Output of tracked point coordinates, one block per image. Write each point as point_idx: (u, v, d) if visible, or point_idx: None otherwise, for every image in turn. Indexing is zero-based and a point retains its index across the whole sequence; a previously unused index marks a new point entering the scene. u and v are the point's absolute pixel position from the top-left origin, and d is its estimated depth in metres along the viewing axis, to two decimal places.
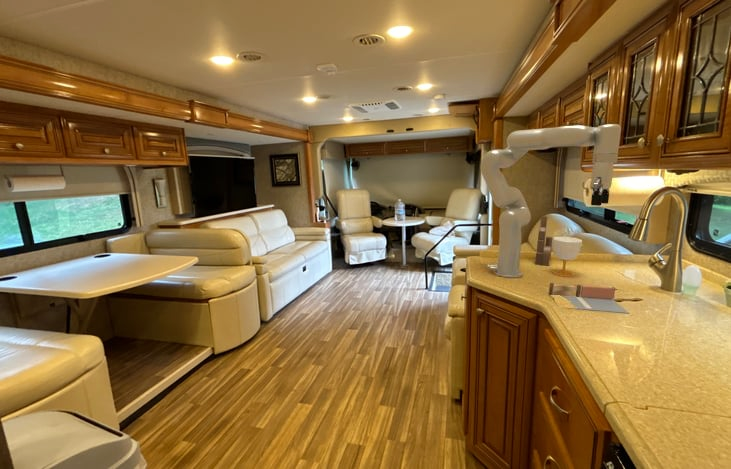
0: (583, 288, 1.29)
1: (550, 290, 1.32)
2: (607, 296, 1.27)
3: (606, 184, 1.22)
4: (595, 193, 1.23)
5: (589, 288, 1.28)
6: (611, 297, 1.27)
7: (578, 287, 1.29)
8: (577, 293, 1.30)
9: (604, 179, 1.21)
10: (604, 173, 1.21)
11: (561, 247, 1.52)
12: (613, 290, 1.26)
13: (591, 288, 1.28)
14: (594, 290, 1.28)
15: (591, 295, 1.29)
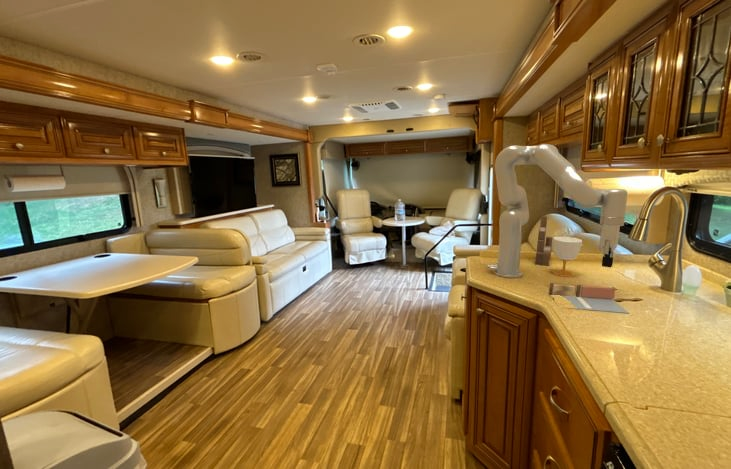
0: (583, 288, 1.29)
1: (550, 290, 1.32)
2: (607, 296, 1.27)
3: (614, 246, 1.26)
4: (606, 256, 1.30)
5: (589, 288, 1.28)
6: (611, 297, 1.27)
7: (578, 287, 1.29)
8: (577, 293, 1.30)
9: (613, 242, 1.25)
10: (613, 236, 1.25)
11: (561, 247, 1.52)
12: (613, 290, 1.26)
13: (591, 288, 1.28)
14: (594, 290, 1.28)
15: (591, 295, 1.29)
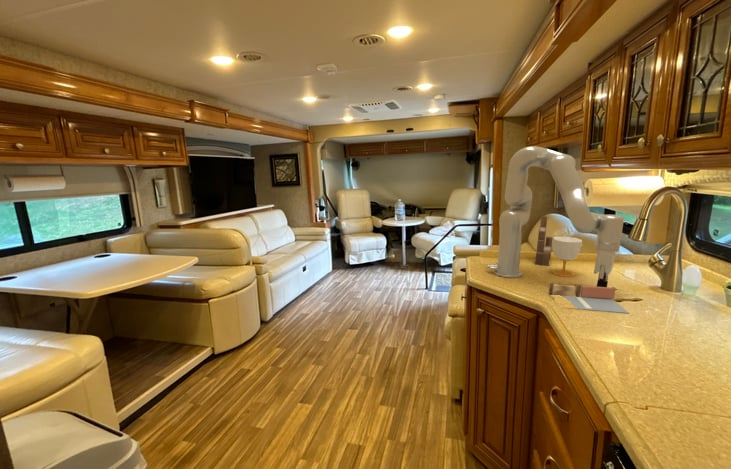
0: (583, 288, 1.29)
1: (550, 290, 1.32)
2: (607, 296, 1.27)
3: (609, 271, 1.28)
4: (601, 280, 1.32)
5: (589, 288, 1.28)
6: (611, 297, 1.27)
7: (578, 287, 1.29)
8: (577, 293, 1.30)
9: (608, 267, 1.27)
10: (608, 262, 1.27)
11: (561, 247, 1.52)
12: (613, 290, 1.26)
13: (591, 288, 1.28)
14: (594, 290, 1.28)
15: (591, 295, 1.29)
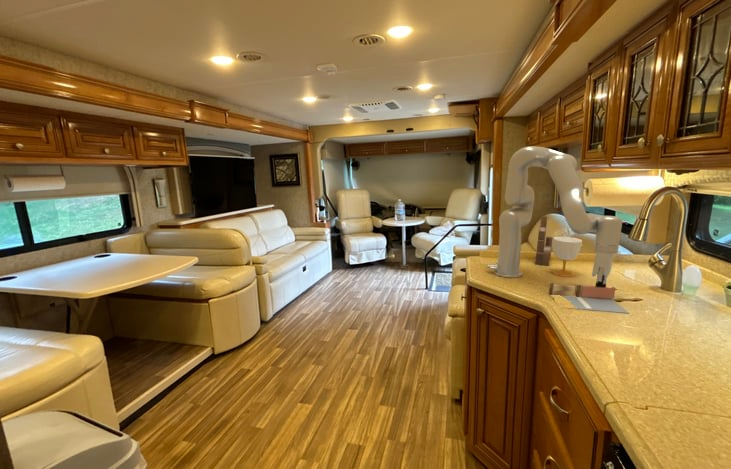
0: (583, 288, 1.29)
1: (550, 290, 1.32)
2: (607, 296, 1.27)
3: (608, 274, 1.25)
4: (599, 283, 1.29)
5: (589, 288, 1.28)
6: (611, 297, 1.27)
7: (578, 287, 1.29)
8: (577, 293, 1.30)
9: (606, 270, 1.24)
10: (606, 264, 1.24)
11: (561, 247, 1.52)
12: (613, 290, 1.26)
13: (591, 288, 1.28)
14: (594, 290, 1.28)
15: (591, 295, 1.29)
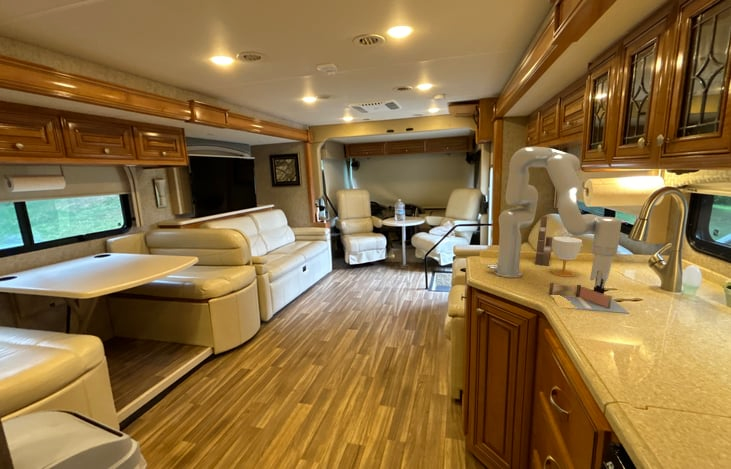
0: (581, 289, 1.28)
1: (550, 290, 1.32)
2: (602, 303, 1.21)
3: (606, 278, 1.20)
4: (598, 287, 1.23)
5: (586, 290, 1.26)
6: (605, 305, 1.20)
7: (578, 287, 1.29)
8: (577, 293, 1.30)
9: (605, 273, 1.19)
10: (605, 267, 1.19)
11: (561, 247, 1.52)
12: (607, 298, 1.19)
13: (588, 290, 1.26)
14: (590, 293, 1.25)
15: (587, 298, 1.26)
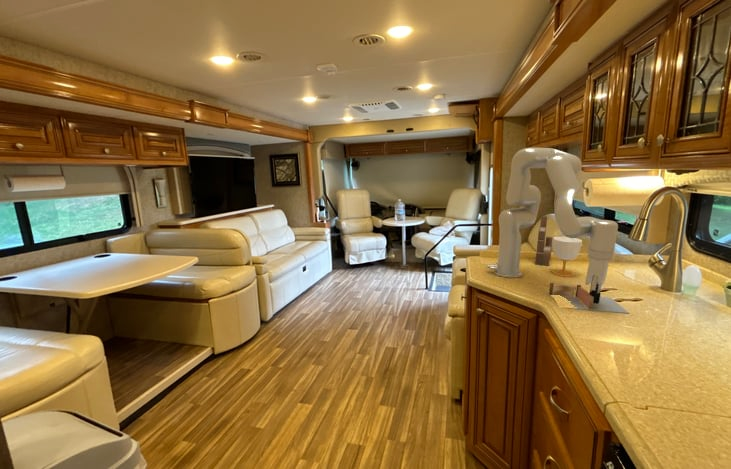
0: (578, 288, 1.28)
1: (550, 290, 1.32)
2: (586, 303, 1.21)
3: (602, 282, 1.17)
4: (593, 291, 1.20)
5: (580, 290, 1.26)
6: (588, 305, 1.20)
7: None
8: (577, 293, 1.30)
9: (600, 278, 1.16)
10: (601, 272, 1.15)
11: (561, 247, 1.52)
12: (589, 298, 1.19)
13: (581, 290, 1.26)
14: (582, 293, 1.25)
15: (580, 298, 1.26)
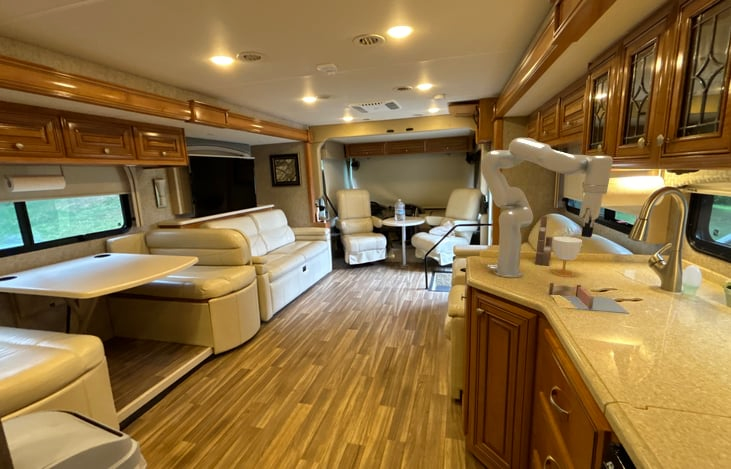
0: (578, 288, 1.28)
1: (550, 290, 1.32)
2: (586, 303, 1.21)
3: (595, 215, 1.23)
4: (586, 225, 1.26)
5: (580, 290, 1.26)
6: (588, 305, 1.20)
7: None
8: (577, 293, 1.30)
9: (593, 210, 1.21)
10: (594, 204, 1.21)
11: (561, 247, 1.52)
12: (589, 298, 1.19)
13: (581, 290, 1.26)
14: (582, 293, 1.25)
15: (580, 298, 1.26)
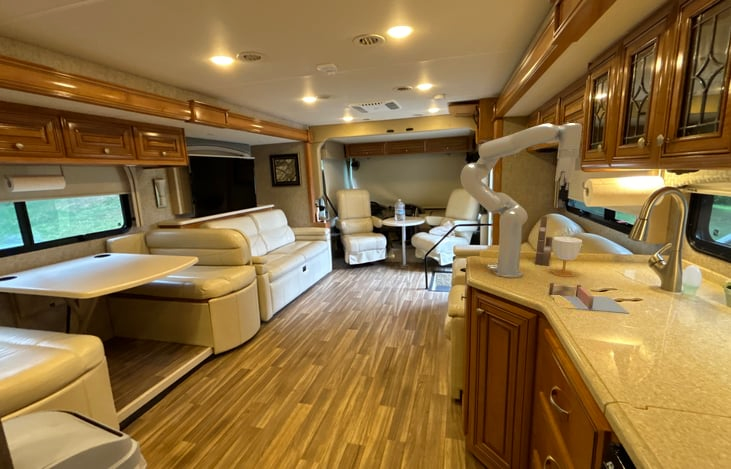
0: (578, 288, 1.28)
1: (550, 290, 1.32)
2: (586, 303, 1.21)
3: (569, 178, 1.34)
4: (562, 188, 1.37)
5: (580, 290, 1.26)
6: (588, 305, 1.20)
7: None
8: (577, 293, 1.30)
9: (567, 173, 1.33)
10: (567, 168, 1.33)
11: (561, 247, 1.52)
12: (589, 298, 1.19)
13: (581, 290, 1.26)
14: (582, 293, 1.25)
15: (580, 298, 1.26)
